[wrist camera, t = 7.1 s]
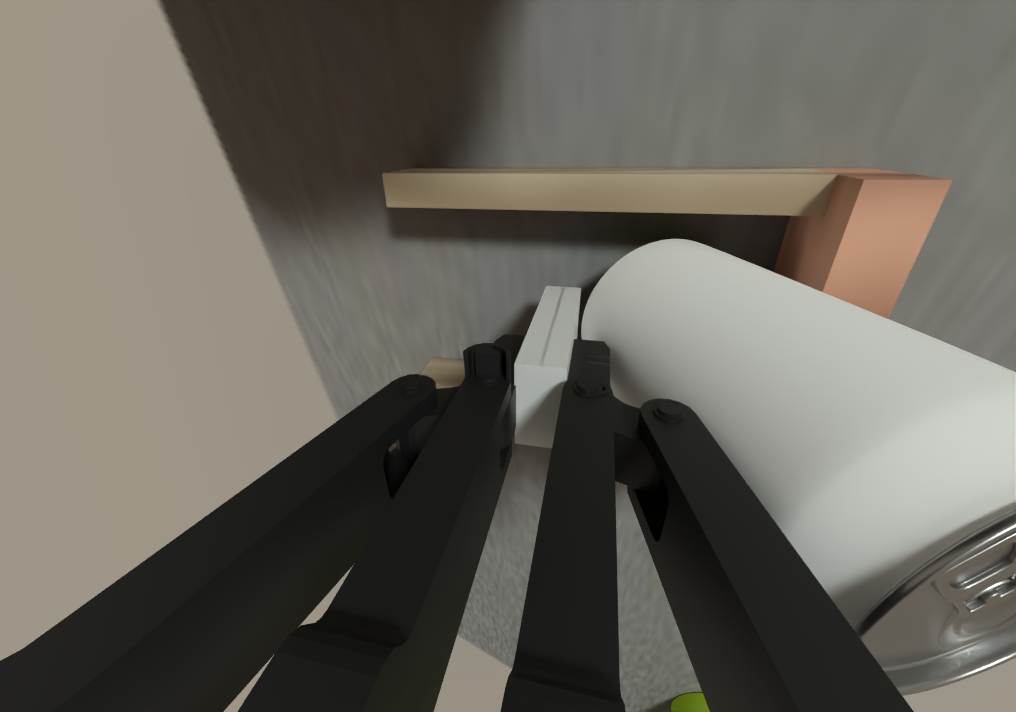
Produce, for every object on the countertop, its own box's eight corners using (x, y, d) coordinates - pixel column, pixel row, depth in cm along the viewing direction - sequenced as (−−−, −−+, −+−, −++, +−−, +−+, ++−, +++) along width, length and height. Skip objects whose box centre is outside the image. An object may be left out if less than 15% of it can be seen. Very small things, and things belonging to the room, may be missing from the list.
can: (627, 406, 19) (867, 735, 9) (545, 313, 16) (764, 650, 6) (748, 316, 18) (1200, 576, 7) (684, 197, 15) (1296, 356, 4)
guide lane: (410, 168, 17) (360, 177, 14) (869, 168, 14) (952, 180, 11) (435, 376, 22) (402, 420, 19) (778, 413, 19) (814, 475, 16)
